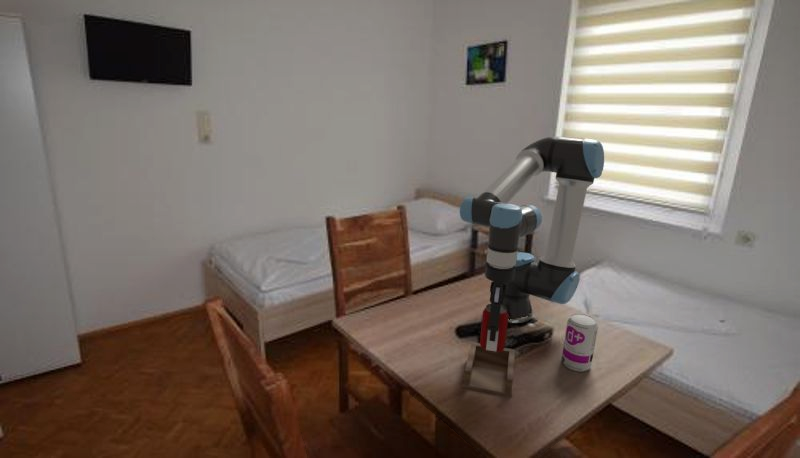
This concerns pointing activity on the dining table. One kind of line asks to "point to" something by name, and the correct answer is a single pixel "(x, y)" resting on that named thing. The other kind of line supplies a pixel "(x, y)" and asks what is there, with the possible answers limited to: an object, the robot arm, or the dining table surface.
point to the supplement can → (579, 342)
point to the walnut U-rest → (490, 370)
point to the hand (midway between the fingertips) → (492, 342)
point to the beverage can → (502, 328)
